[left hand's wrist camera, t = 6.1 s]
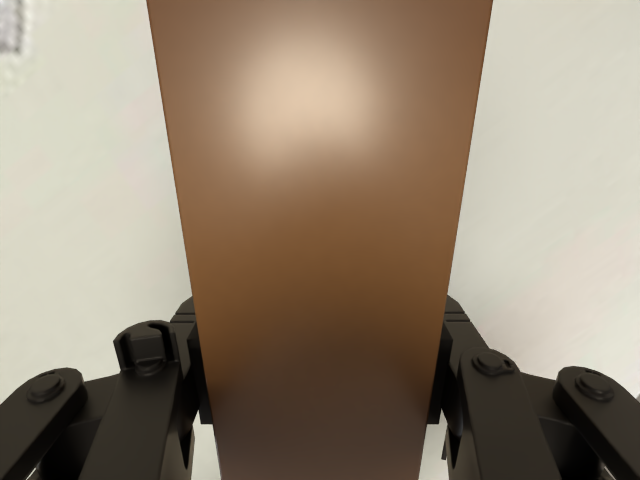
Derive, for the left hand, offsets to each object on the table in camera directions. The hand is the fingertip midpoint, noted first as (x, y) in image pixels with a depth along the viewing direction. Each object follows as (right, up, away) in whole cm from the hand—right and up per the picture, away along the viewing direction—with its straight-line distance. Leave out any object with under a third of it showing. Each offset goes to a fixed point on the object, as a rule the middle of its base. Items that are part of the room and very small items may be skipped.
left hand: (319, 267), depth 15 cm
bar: (0, +8, -3) cm, 9 cm away
